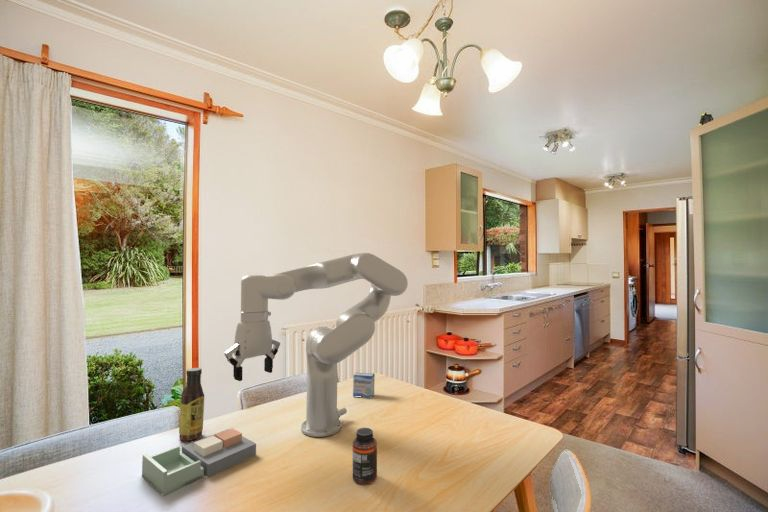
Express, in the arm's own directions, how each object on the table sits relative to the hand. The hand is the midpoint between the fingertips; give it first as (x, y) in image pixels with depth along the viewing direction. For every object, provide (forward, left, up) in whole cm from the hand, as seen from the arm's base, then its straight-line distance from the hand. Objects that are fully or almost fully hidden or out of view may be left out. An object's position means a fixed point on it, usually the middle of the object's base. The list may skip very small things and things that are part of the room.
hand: (253, 375), depth 104 cm
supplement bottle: (-6, +37, -19) cm, 43 cm away
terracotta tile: (+8, 0, -16) cm, 18 cm away
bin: (+22, 0, -19) cm, 29 cm away
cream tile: (+13, 0, -16) cm, 21 cm away
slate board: (+10, 0, -19) cm, 21 cm away
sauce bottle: (+10, -17, -19) cm, 27 cm away
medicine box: (-48, +1, -19) cm, 52 cm away
